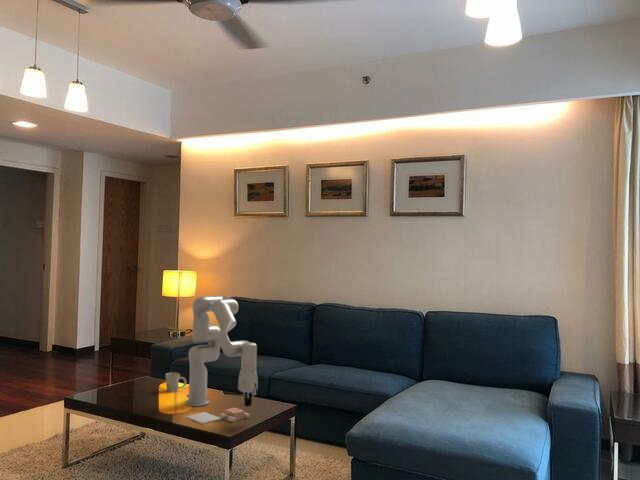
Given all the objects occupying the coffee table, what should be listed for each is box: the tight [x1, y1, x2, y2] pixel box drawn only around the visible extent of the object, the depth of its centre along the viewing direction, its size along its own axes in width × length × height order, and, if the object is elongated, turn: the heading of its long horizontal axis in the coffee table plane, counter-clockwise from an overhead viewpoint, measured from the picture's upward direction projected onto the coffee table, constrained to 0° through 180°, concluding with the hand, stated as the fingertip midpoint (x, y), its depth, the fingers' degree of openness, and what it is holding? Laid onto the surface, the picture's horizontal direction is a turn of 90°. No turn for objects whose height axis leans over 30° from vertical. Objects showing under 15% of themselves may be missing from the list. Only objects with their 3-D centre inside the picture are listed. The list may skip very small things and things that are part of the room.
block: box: [224, 407, 246, 421], centre depth 260 cm, size 8×6×4 cm
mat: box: [185, 411, 222, 425], centre depth 257 cm, size 14×11×1 cm
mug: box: [164, 371, 187, 393], centre depth 308 cm, size 8×13×10 cm, turn 96°
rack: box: [218, 412, 251, 424], centre depth 260 cm, size 11×11×2 cm
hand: (247, 405), depth 253 cm, fingers closed
